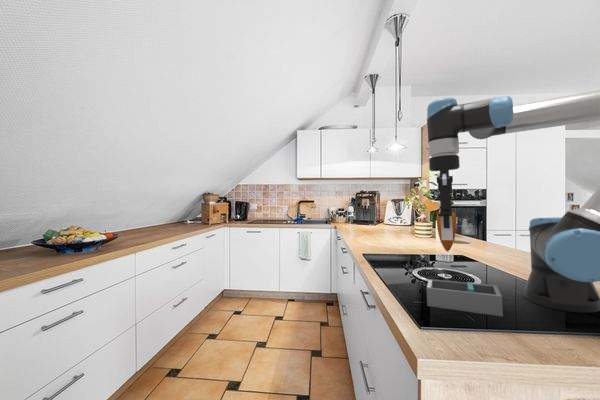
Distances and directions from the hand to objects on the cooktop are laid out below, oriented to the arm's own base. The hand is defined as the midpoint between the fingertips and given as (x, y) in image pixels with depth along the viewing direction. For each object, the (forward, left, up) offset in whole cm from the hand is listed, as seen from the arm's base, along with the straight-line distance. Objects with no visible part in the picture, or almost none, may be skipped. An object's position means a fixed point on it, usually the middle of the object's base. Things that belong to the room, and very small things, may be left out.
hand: (447, 238), depth 76 cm
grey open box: (-3, 0, -18) cm, 19 cm away
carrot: (0, 0, -4) cm, 4 cm away
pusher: (-5, 0, -17) cm, 18 cm away
